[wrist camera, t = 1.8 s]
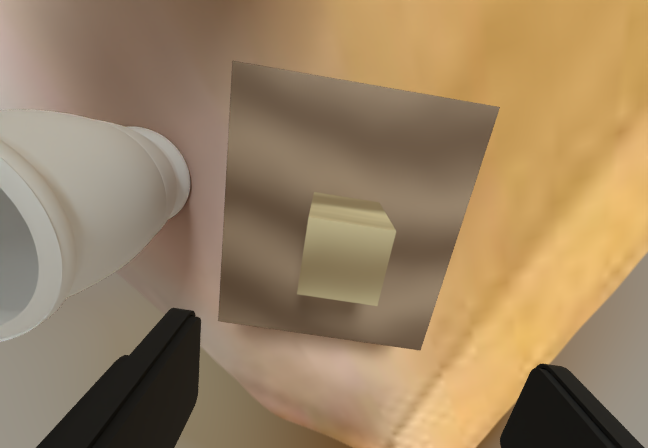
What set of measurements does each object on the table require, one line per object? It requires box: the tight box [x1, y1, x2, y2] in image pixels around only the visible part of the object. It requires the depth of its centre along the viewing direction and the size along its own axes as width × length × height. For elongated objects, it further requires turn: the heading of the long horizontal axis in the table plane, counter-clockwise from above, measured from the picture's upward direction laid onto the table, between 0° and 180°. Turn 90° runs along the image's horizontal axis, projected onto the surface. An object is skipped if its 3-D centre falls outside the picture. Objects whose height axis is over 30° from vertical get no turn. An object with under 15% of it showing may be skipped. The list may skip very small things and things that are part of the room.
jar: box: [0, 109, 190, 342], centre depth 19 cm, size 11×10×15 cm
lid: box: [218, 61, 500, 350], centre depth 18 cm, size 17×15×7 cm
